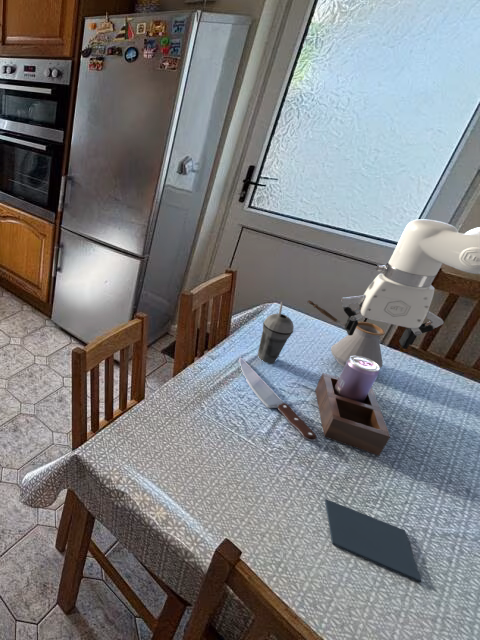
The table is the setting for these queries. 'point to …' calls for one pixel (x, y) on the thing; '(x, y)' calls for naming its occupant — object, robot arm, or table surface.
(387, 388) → the table surface
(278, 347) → the beverage cup
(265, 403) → the steak knife
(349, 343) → the coffee pot
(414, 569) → the mat
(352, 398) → the beverage can
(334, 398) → the box
